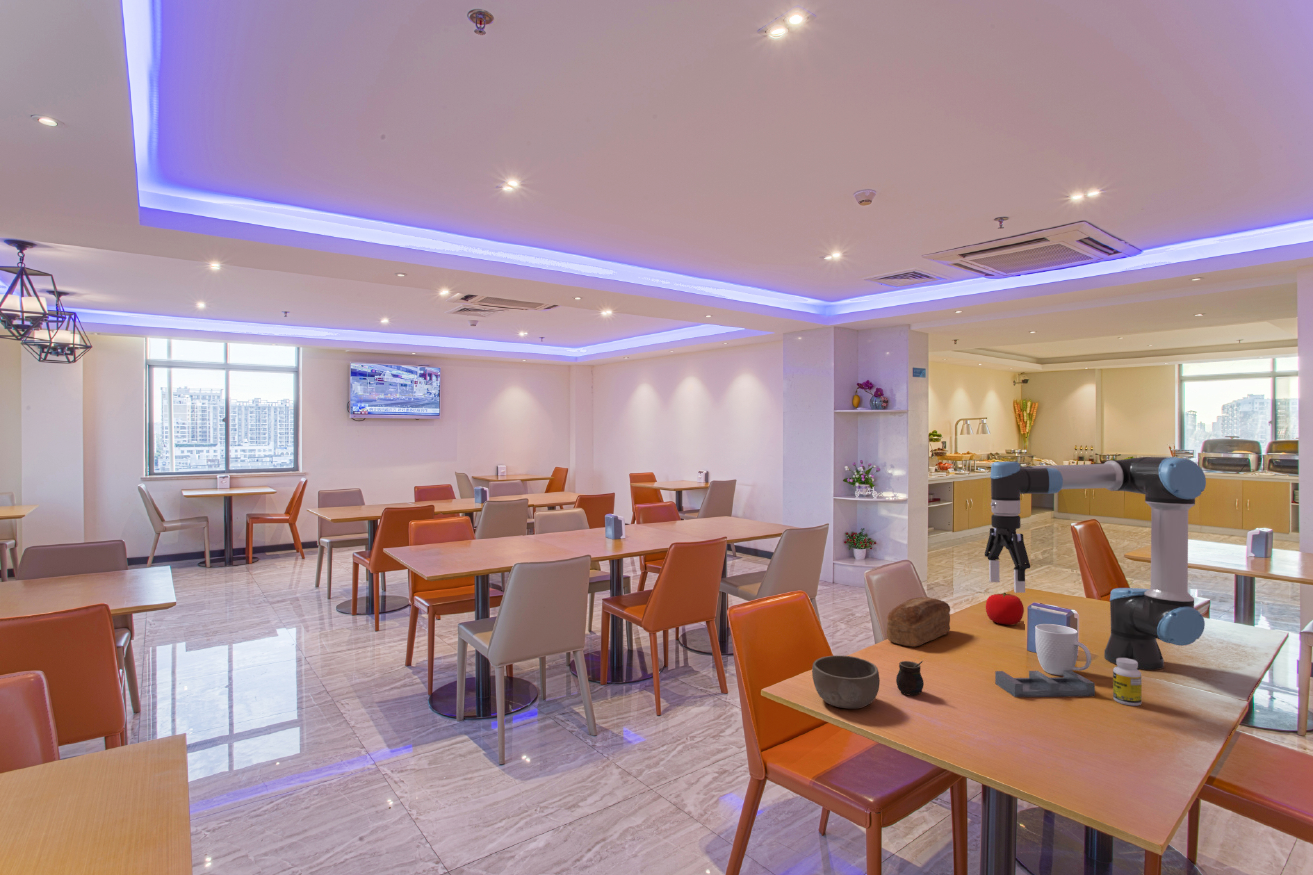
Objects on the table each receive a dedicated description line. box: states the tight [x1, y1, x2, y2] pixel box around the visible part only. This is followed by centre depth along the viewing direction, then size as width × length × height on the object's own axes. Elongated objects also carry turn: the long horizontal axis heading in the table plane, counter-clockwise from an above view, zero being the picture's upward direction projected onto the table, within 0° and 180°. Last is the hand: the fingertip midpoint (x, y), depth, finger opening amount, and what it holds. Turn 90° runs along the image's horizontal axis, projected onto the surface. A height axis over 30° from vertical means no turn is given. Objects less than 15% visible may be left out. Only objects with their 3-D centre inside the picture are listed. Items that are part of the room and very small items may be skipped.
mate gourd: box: [895, 660, 925, 697], centre depth 182 cm, size 7×8×10 cm
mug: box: [1034, 623, 1092, 677], centre depth 196 cm, size 15×11×13 cm
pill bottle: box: [1112, 658, 1143, 707], centre depth 175 cm, size 6×6×11 cm
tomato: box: [985, 592, 1025, 626], centre depth 251 cm, size 13×14×12 cm
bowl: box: [811, 655, 881, 710], centre depth 176 cm, size 17×18×10 cm
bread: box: [886, 596, 951, 647], centre depth 233 cm, size 12×31×14 cm, turn 132°
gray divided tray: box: [994, 670, 1096, 698], centre depth 184 cm, size 22×10×4 cm, turn 91°
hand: (1006, 587), depth 191 cm, fingers open, 13 cm apart
